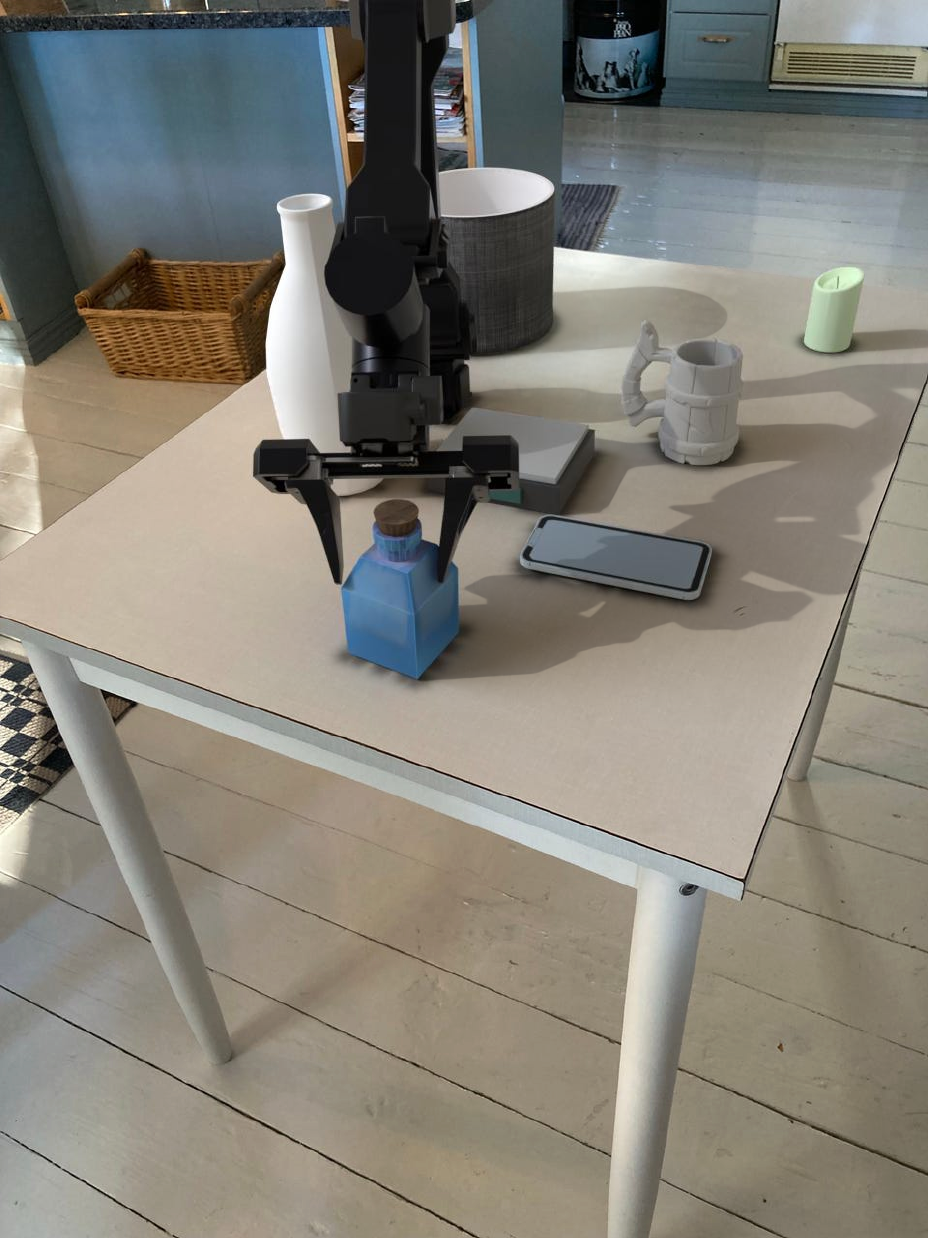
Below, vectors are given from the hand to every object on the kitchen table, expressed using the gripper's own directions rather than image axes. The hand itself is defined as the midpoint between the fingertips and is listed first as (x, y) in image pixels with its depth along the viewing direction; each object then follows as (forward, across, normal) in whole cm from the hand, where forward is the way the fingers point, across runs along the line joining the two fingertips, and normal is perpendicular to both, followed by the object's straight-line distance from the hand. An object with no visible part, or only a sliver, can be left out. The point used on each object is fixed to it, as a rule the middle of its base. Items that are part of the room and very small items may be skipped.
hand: (388, 583), depth 71 cm
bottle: (-14, -8, +24) cm, 29 cm away
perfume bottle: (+4, 0, +6) cm, 7 cm away
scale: (-14, +8, +23) cm, 28 cm away
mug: (-17, +24, +27) cm, 40 cm away
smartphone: (-4, +17, +13) cm, 22 cm away
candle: (-33, +44, +42) cm, 69 cm away
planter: (-38, +4, +48) cm, 61 cm away
